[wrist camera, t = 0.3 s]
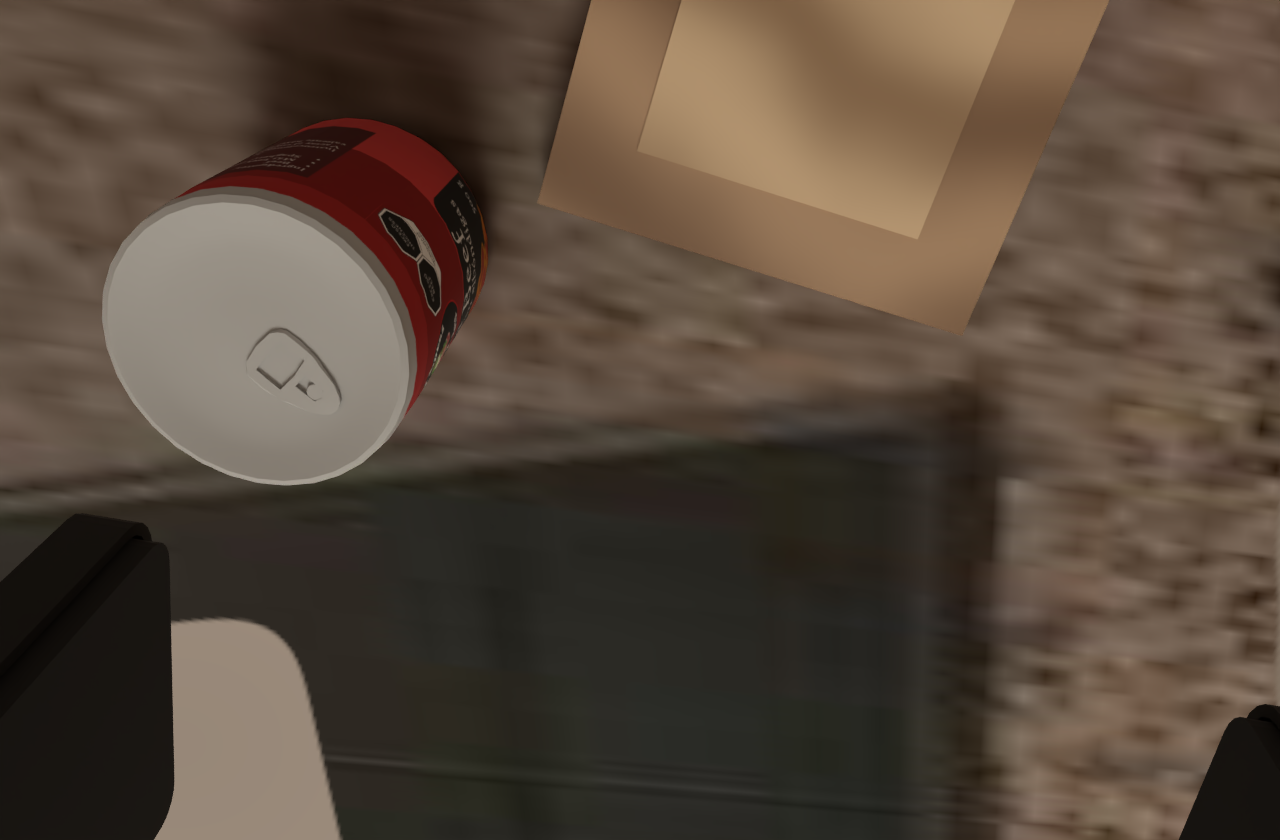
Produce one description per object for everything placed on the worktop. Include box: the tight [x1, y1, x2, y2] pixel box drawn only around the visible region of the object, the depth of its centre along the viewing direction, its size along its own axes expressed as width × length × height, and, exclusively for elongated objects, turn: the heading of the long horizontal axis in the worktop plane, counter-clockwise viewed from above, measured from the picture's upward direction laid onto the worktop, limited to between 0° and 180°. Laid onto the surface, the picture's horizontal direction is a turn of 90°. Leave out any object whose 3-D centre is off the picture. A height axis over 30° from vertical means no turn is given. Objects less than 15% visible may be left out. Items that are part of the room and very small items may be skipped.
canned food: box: [102, 118, 488, 485], centre depth 35 cm, size 8×8×11 cm
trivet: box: [538, 0, 1109, 336], centre depth 36 cm, size 14×14×2 cm
